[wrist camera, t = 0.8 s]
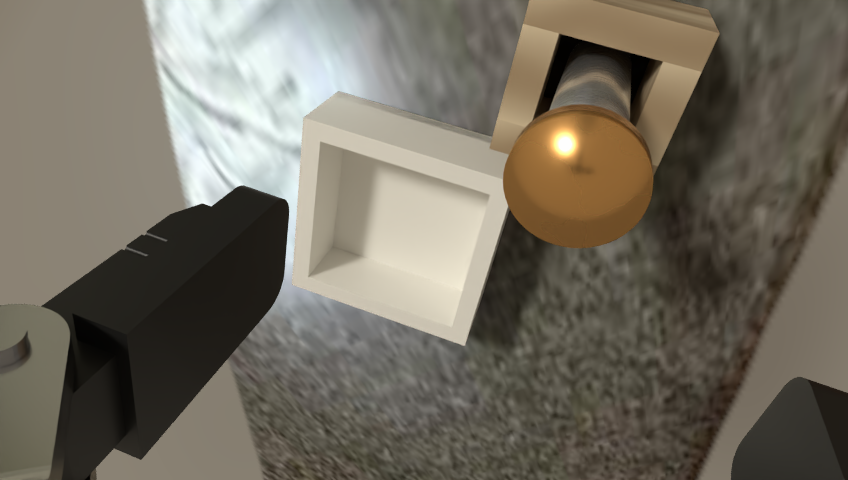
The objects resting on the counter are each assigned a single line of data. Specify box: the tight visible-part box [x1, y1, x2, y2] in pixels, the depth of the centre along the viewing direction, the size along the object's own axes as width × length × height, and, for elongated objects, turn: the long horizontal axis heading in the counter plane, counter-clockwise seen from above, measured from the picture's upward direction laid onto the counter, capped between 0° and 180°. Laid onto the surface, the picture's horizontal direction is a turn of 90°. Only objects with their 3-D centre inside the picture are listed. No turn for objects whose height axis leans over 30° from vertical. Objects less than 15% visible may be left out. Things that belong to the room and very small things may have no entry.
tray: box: [292, 91, 510, 346], centre depth 34 cm, size 11×11×4 cm
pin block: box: [489, 0, 720, 176], centre depth 27 cm, size 7×7×4 cm
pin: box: [503, 40, 653, 248], centre depth 23 cm, size 4×4×13 cm
